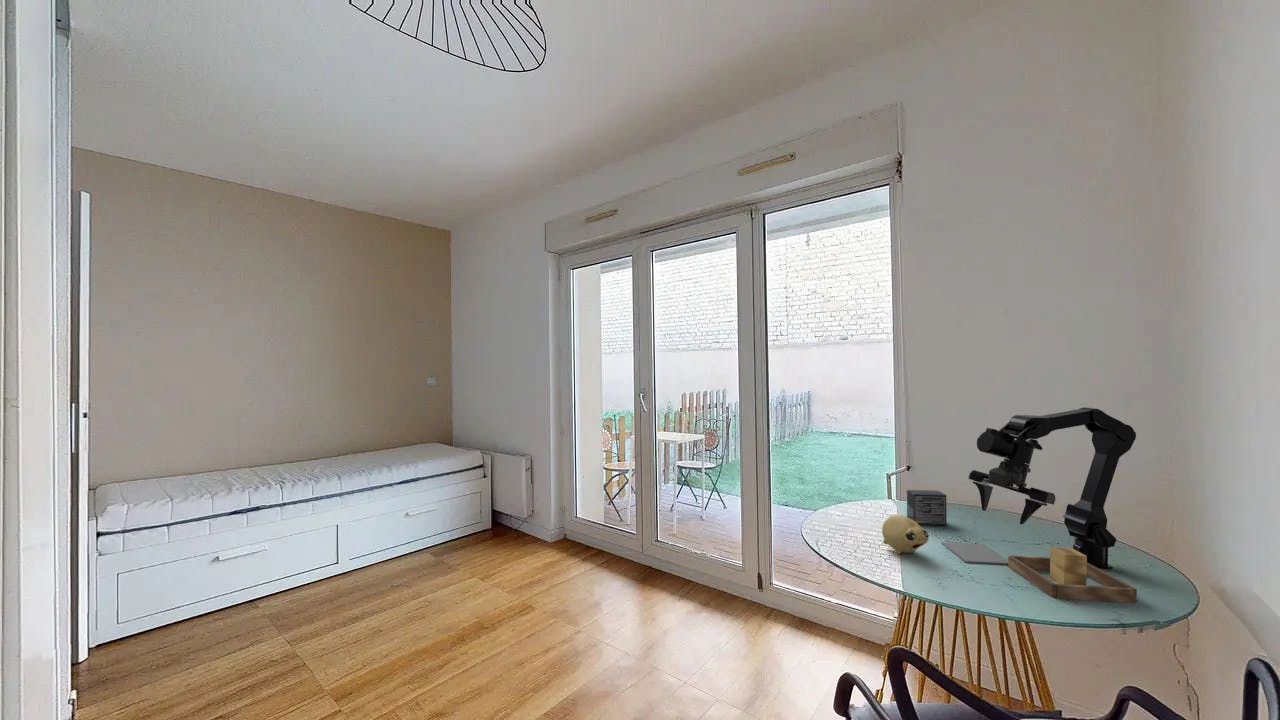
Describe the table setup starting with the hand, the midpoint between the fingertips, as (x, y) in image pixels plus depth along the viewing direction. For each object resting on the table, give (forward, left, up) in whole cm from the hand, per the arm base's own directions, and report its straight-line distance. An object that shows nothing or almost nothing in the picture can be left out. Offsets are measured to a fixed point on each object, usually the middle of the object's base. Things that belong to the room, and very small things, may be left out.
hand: (1001, 517), depth 137 cm
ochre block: (-10, +10, -13) cm, 19 cm away
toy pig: (+23, -5, -13) cm, 27 cm away
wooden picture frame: (-10, +10, -13) cm, 19 cm away
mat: (+3, -7, -13) cm, 15 cm away
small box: (+5, -34, -13) cm, 37 cm away
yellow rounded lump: (+15, -24, -13) cm, 32 cm away
